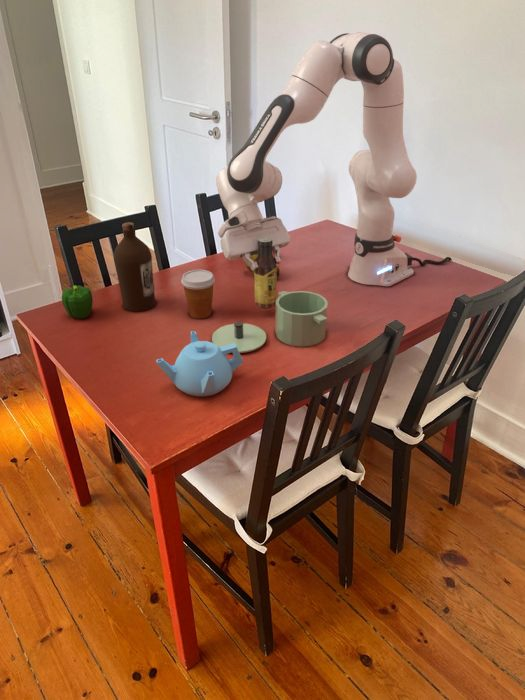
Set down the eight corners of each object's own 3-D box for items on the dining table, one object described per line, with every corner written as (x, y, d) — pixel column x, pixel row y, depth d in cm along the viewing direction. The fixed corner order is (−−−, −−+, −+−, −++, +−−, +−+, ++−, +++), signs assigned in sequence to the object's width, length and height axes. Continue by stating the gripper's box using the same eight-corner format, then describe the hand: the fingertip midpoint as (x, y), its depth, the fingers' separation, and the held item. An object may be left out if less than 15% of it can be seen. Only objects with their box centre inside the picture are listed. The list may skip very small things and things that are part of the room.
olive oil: (115, 310, 157) (101, 228, 143) (131, 294, 165) (119, 216, 152) (148, 314, 154) (137, 232, 141) (162, 298, 163) (153, 219, 150)
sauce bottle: (272, 311, 150) (271, 245, 139) (251, 308, 152) (249, 242, 141) (279, 301, 155) (279, 236, 144) (259, 298, 157) (258, 234, 146)
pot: (300, 313, 155) (301, 283, 150) (342, 341, 141) (344, 310, 136) (261, 325, 149) (260, 295, 144) (300, 356, 135) (301, 324, 130)
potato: (261, 285, 171) (261, 262, 166) (240, 272, 180) (239, 249, 175) (282, 279, 174) (282, 256, 170) (260, 266, 183) (260, 244, 179)
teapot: (212, 410, 117) (209, 369, 111) (157, 391, 123) (152, 351, 117) (246, 374, 128) (245, 336, 123) (194, 358, 134) (191, 321, 129)
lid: (248, 321, 150) (248, 305, 148) (276, 344, 140) (277, 327, 137) (202, 335, 144) (201, 319, 141) (228, 361, 133) (227, 343, 131)
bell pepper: (69, 309, 157) (62, 278, 152) (97, 307, 158) (91, 277, 153) (62, 322, 150) (55, 291, 145) (92, 321, 151) (85, 289, 146)
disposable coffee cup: (178, 318, 152) (174, 280, 146) (193, 303, 160) (190, 267, 153) (208, 323, 150) (205, 285, 143) (222, 308, 157) (220, 271, 151)
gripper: (274, 220, 155) (292, 262, 154) (212, 234, 146) (231, 279, 145) (283, 209, 150) (302, 253, 148) (219, 223, 141) (238, 269, 139)
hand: (266, 266), depth 146 cm, fingers closed on sauce bottle, 6 cm apart
